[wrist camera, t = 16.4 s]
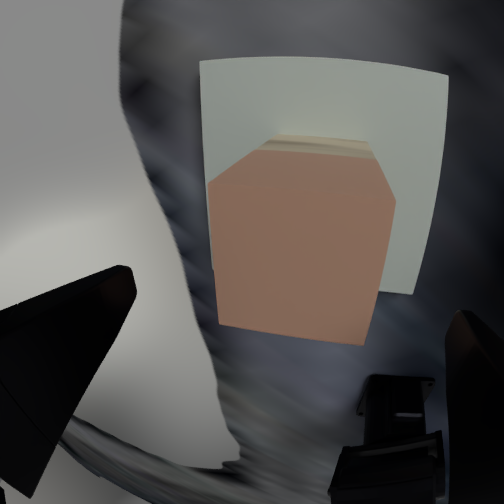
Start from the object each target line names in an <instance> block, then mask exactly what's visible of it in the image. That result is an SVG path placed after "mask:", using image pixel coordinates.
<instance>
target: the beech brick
mask: <svg viewBox="0 0 504 504" xmlns="http://www.w3.org/2000/svg"><path fill="white" fill-rule="evenodd" d="M255 150H274V151H291V152H305V153H318V154H329V155H339V156H349V157H358V158H366V159H374V160H376V158H375V156H374V154H373V152H372V150H371V148H370V146H369V144H368V142H367V141H359V140H349V139H340V138H329V137H317V136H303V135H285V134H277V135H275V136H274V137H272V138H271V139H269V140H268V141H266V142H265V143H264V144H262V145H261V146H259V147H258V148H256V149H255Z"/></svg>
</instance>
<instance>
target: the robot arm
mask: <svg viewBox="0 0 504 504" xmlns="http://www.w3.org/2000/svg"><path fill="white" fill-rule="evenodd" d="M136 295H137V289H136V284H135V280H134V276H133V272H132V270H131V268H130V267H128V266H123V265H116V266H113V267H111V268H108V269H105V270H103V271H100V272H97V273H95V274H92V275H89V276H87V277H84V278H81V279H79V280H76V281H74V282H71V283H68V284H66V285H63V286H61V287H58V288H56V289H53V290H51V291H48V292H45V293H43V294H40V295H38V296H36V297H33V298H30V299H28V300H25V301H23V302H20V303H19V304H15V305H13V306H10V307H8V308H6V309H3V310H0V482H1V480H4V481H5V482H6V483H8V484H9V485H10V486H12V487H13V488H15V489H16V490H18V491H19V492H20V493H22V494H23V495H25V496H26V497H28V498H29V499H30V498H31V497H32V496H33V494H34V492H35V489H36V487H37V485H38V483H39V481H40V479H41V477H42V474H43V472H44V470H45V468H46V466H47V464H48V462H49V460H50V458H51V456H52V454H53V452H54V450H55V448H56V447H55V446H56V445H57V444H58V442H59V440H60V438H61V436H62V434H63V432H64V430H65V428H66V426H67V424H68V422H69V420H70V419H71V417H72V415H73V413H74V411H75V409H76V407H77V406H78V404H79V402H80V400H81V398H82V396H83V395H84V393H85V391H86V389H87V387H88V385H89V384H90V382H91V380H92V379H93V377H94V375H95V373H96V372H97V370H98V368H99V366H100V365H101V363H102V361H103V360H104V358H105V356H106V354H107V353H108V351H109V349H110V348H111V346H112V344H113V343H114V341H115V339H116V337H117V335H118V333H119V331H120V329H121V327H122V325H123V323H124V321H125V319H126V317H127V315H128V313H129V311H130V309H131V307H132V305H133V303H134V300H135V298H136ZM445 362H446V399H447V411H448V426H449V453H450V477H449V503H448V504H504V341H503V340H502V339H501V338H500V337H499V336H498V335H497V334H496V333H495V332H494V331H493V330H491V329H490V328H489V327H488V326H487V325H486V324H485V323H484V322H483V321H482V320H481V319H480V318H478V317H477V316H476V315H475V314H474V313H473V312H472V311H468V310H458V311H456V313H455V314H454V317H453V319H452V321H451V324H450V326H449V328H448V331H447V333H446V336H445ZM434 386H435V379H434V378H421V377H404V376H389V375H377V374H375V375H372V376H370V378H369V381H368V384H367V386H366V389H365V391H364V394H363V396H362V399H361V401H360V403H359V406H358V408H357V412H356V415H358V416H363V417H365V428H364V442H363V445H361V446H353V447H350V446H344V447H343V448H342V452H341V454H340V456H339V459H338V462H337V465H336V469H335V472H334V475H333V478H332V481H331V484H330V487H329V489H328V495H329V496H330V497H331V504H435V503H436V500H438V499H443V498H444V497H445V460H444V449H443V439H442V431H441V430H439V431H435V432H434V433H430V434H426V423H425V411H424V402H425V401H426V399H427V397H428V396H429V394H430V392H431V391H432V389H433V387H434ZM0 504H6V501H5V494H4V489H3V488H2V487H0Z"/></svg>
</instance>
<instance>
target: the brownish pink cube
mask: <svg viewBox="0 0 504 504" xmlns="http://www.w3.org/2000/svg"><path fill="white" fill-rule="evenodd" d="M208 199H209V214H210V227H211V240H212V253H213V265H214V276H215V287H216V298H217V308H218V318H219V324H221V325H227V326H232V327H237V328H243V329H249V330H254V331H260V332H266V333H272V334H279V335H285V336H292V337H298V338H305V339H312V340H320V341H327V342H335V343H343V344H352V345H361V346H364V343H365V339H366V336H367V332H368V329H369V325H370V321H371V318H372V314H373V310H374V306H375V303H376V299H377V295H378V290H379V286H380V282H381V278H382V273H383V269H384V264H385V260H386V255H387V250H388V245H389V240H390V234H391V229H392V223H393V218H394V212H395V205H396V199H395V197H394V195H393V193H392V190H391V188H390V186H389V184H388V182H387V180H386V178H385V175H384V173H383V171H382V169H381V167H380V165H379V163H378V161H377V160H374V159H366V158H358V157H349V156H339V155H329V154H318V153H305V152H291V151H274V150H253V151H252V152H250V153H249V154H247V155H246V156H245V157H243V158H242V159H240V160H239V161H238V162H236V163H235V164H233V165H232V166H231V167H229V168H228V169H227V170H225V171H224V172H222V173H221V174H220V175H218V176H217V177H216V178H214V179H213V180H212V181H210V182H209V183H208Z"/></svg>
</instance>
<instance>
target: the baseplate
mask: <svg viewBox="0 0 504 504" xmlns="http://www.w3.org/2000/svg"><path fill="white" fill-rule="evenodd" d="M200 90H201V114H202V135H203V153H204V169H205V185H206V199H207V213H208V225H209V238H210V249H211V261H212V270H214V265H213V253H212V240H211V227H210V214H209V199H208V183H209V182H210V181H212V180H213V179H214V178H216V177H217V176H218V175H220V174H221V173H222V172H224V171H225V170H227V169H228V168H229V167H231V166H232V165H233V164H235V163H236V162H238V161H239V160H240V159H242V158H243V157H245V156H246V155H247V154H249V153H250V152H252V151H253V150H255V149H256V148H258V147H259V146H261V145H262V144H264V143H265V142H266V141H268V140H269V139H271V138H272V137H274V136H275V135H277V134H285V135H303V136H317V137H329V138H340V139H349V140H359V141H367V142H368V144H369V146H370V148H371V150H372V152H373V154H374V156H375V158H376V160H377V161H378V163H379V165H380V167H381V169H382V171H383V173H384V175H385V178H386V180H387V182H388V184H389V186H390V188H391V190H392V193H393V195H394V197H395V199H396V205H395V212H394V218H393V223H392V229H391V234H390V240H389V245H388V250H387V255H386V260H385V264H384V269H383V273H382V278H381V282H380V286H379V290H378V291H385V292H394V293H403V294H413V291H414V288H415V284H416V281H417V277H418V274H419V270H420V266H421V263H422V259H423V255H424V251H425V247H426V243H427V238H428V234H429V230H430V225H431V220H432V215H433V210H434V205H435V200H436V194H437V189H438V183H439V176H440V170H441V163H442V155H443V147H444V138H445V128H446V116H447V101H448V75H443V74H439V73H434V72H430V71H425V70H420V69H415V68H409V67H403V66H397V65H391V64H384V63H376V62H368V61H359V60H348V59H336V58H319V57H247V58H230V59H217V60H206V61H200Z"/></svg>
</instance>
